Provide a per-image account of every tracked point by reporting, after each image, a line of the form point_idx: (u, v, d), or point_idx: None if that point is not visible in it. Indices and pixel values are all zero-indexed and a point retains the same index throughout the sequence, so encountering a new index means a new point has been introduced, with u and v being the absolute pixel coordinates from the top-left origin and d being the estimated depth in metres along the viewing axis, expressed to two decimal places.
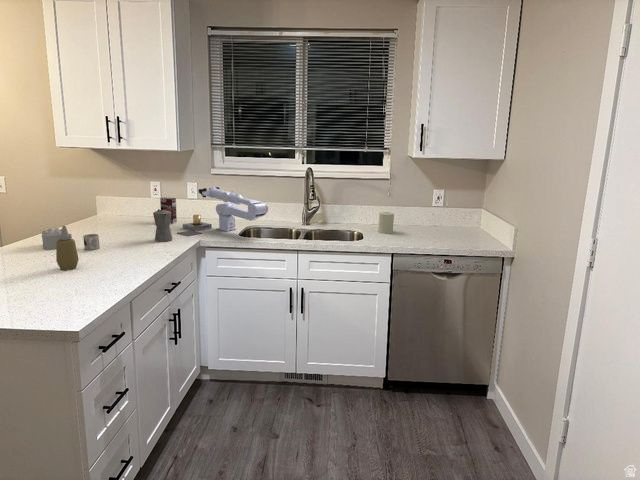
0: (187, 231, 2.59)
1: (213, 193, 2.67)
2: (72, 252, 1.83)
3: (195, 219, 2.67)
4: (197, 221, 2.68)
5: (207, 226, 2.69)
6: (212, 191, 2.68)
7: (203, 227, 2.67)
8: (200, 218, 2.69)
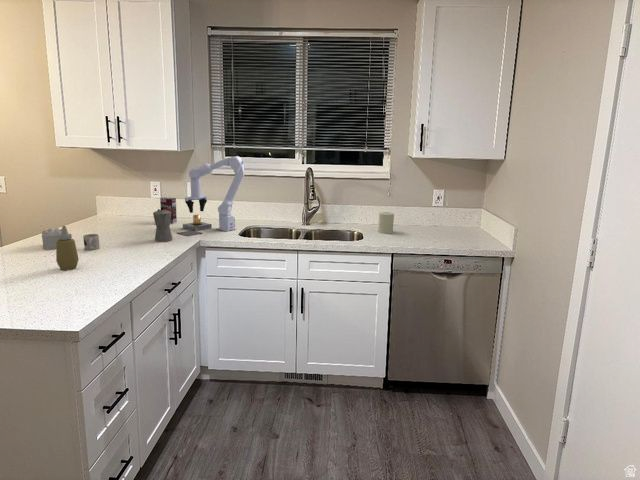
0: (187, 231, 2.59)
1: (191, 191, 2.64)
2: (72, 252, 1.83)
3: (195, 219, 2.67)
4: (197, 221, 2.68)
5: (207, 226, 2.69)
6: (191, 193, 2.65)
7: (203, 227, 2.67)
8: (200, 218, 2.69)
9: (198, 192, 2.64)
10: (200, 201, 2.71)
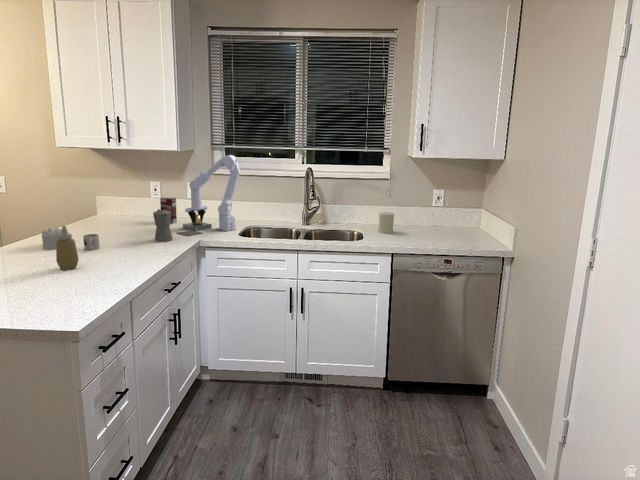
0: (187, 231, 2.59)
1: (191, 202, 2.65)
2: (72, 252, 1.83)
3: (195, 219, 2.67)
4: (197, 221, 2.68)
5: (207, 226, 2.69)
6: (191, 204, 2.66)
7: (203, 227, 2.67)
8: (200, 218, 2.69)
9: (198, 203, 2.65)
10: (199, 212, 2.71)
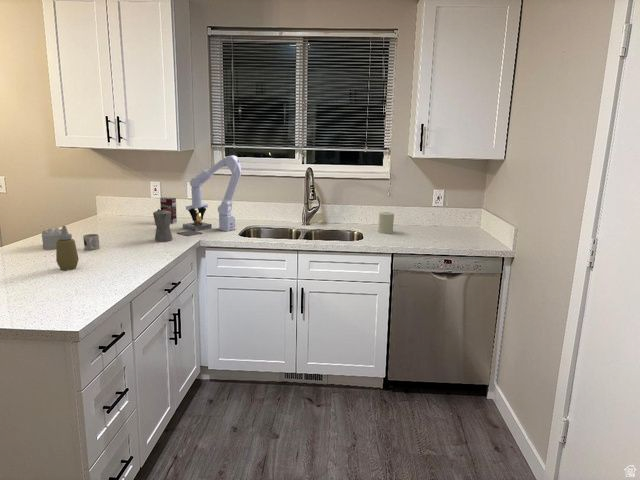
0: (187, 231, 2.59)
1: (192, 200, 2.65)
2: (72, 252, 1.83)
3: (196, 217, 2.67)
4: (198, 219, 2.68)
5: (207, 226, 2.69)
6: (192, 202, 2.67)
7: (203, 227, 2.67)
8: None
9: (199, 201, 2.65)
10: (199, 210, 2.71)
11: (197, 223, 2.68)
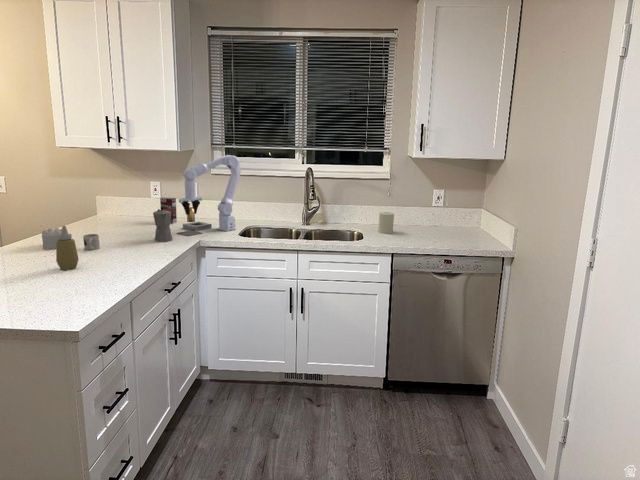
0: (187, 231, 2.59)
1: (185, 193, 2.53)
2: (72, 252, 1.83)
3: None
4: (190, 214, 2.56)
5: (207, 226, 2.69)
6: (185, 195, 2.55)
7: (203, 227, 2.67)
8: (194, 211, 2.57)
9: (192, 193, 2.53)
10: (193, 203, 2.59)
11: (189, 218, 2.57)
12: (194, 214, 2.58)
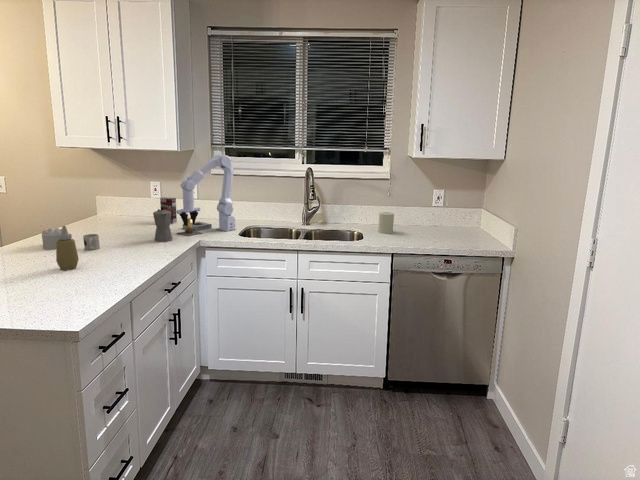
0: None
1: (183, 204, 2.50)
2: (72, 252, 1.83)
3: None
4: (188, 225, 2.53)
5: (207, 226, 2.69)
6: (183, 206, 2.51)
7: (203, 227, 2.67)
8: (192, 222, 2.54)
9: (191, 204, 2.50)
10: (191, 214, 2.56)
11: (187, 230, 2.54)
12: (192, 225, 2.55)
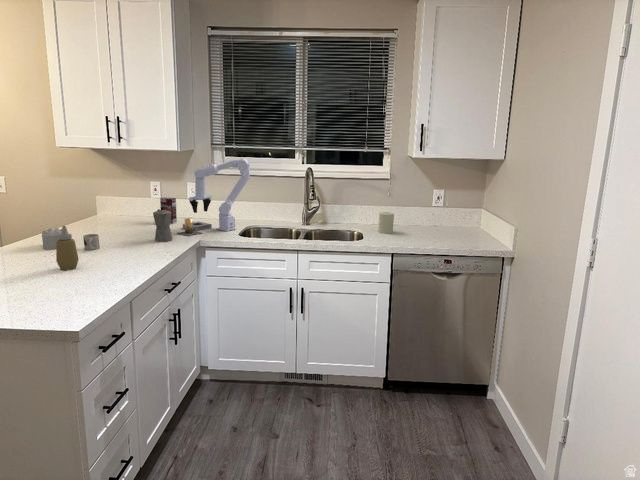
0: None
1: (196, 191, 2.62)
2: (72, 252, 1.83)
3: (186, 223, 2.53)
4: (188, 225, 2.53)
5: (207, 226, 2.69)
6: (195, 193, 2.63)
7: (203, 227, 2.67)
8: (192, 222, 2.54)
9: (203, 192, 2.62)
10: (204, 201, 2.68)
11: (187, 230, 2.54)
12: (192, 225, 2.55)
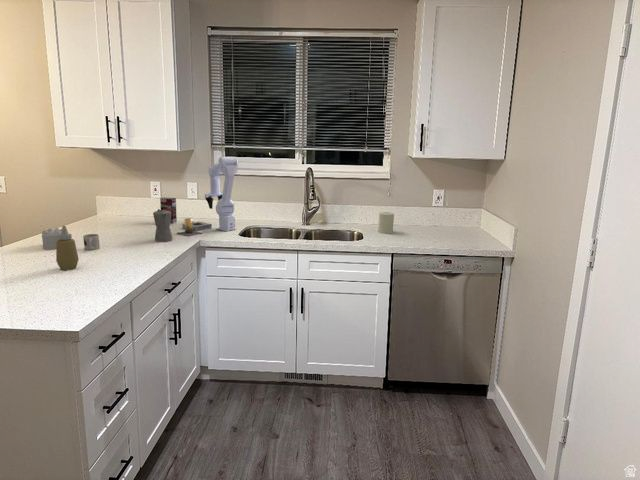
0: None
1: (211, 188, 2.77)
2: (72, 252, 1.83)
3: (186, 223, 2.53)
4: (188, 225, 2.53)
5: (207, 226, 2.69)
6: None
7: (203, 227, 2.67)
8: (192, 222, 2.54)
9: (217, 189, 2.77)
10: (219, 198, 2.84)
11: (187, 230, 2.54)
12: (192, 225, 2.55)
